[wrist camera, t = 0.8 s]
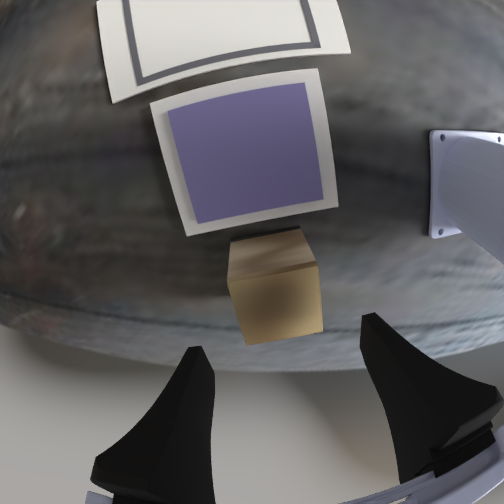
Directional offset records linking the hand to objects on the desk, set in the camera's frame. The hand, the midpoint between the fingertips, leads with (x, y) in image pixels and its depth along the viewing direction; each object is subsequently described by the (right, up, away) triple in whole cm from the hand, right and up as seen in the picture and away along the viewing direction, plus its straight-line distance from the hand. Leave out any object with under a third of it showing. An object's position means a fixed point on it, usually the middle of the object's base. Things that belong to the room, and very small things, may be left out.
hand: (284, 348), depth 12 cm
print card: (-3, +18, -1) cm, 18 cm away
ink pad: (-2, +10, +3) cm, 11 cm away
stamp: (0, +4, +7) cm, 8 cm away
